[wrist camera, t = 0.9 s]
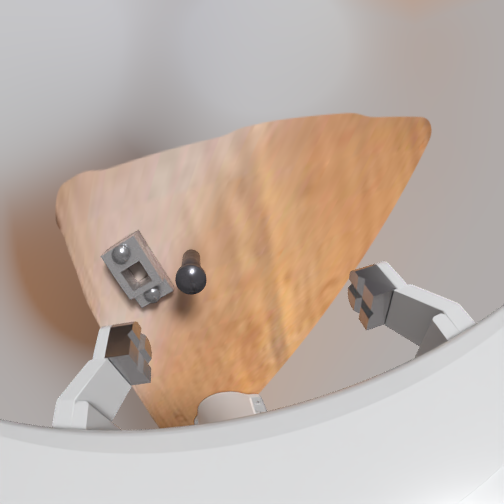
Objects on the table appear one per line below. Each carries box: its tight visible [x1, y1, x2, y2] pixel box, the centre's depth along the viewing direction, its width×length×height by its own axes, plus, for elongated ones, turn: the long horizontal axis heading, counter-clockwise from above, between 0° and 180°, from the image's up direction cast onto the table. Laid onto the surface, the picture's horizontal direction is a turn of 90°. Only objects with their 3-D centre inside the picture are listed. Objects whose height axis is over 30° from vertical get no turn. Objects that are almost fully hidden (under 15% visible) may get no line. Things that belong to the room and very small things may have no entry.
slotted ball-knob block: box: [101, 230, 174, 308], centre depth 45 cm, size 12×7×5 cm, turn 26°
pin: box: [176, 250, 206, 294], centre depth 44 cm, size 4×4×10 cm
